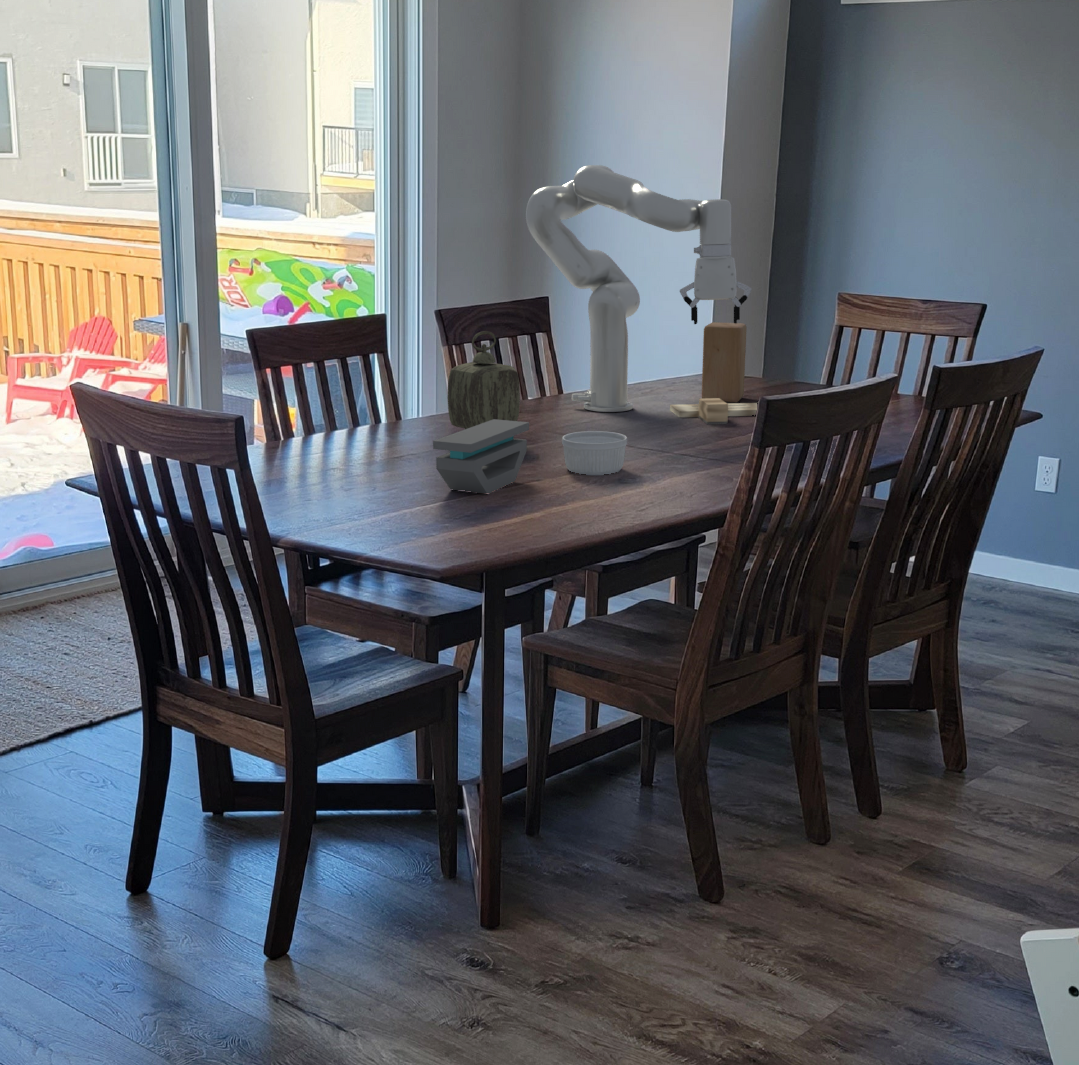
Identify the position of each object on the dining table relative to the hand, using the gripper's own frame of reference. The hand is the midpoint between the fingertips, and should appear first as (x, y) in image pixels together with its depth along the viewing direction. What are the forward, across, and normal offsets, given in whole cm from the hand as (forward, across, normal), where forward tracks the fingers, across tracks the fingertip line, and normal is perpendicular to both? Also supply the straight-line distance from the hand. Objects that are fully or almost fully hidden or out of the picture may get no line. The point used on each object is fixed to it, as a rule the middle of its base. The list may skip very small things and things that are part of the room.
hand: (715, 323), depth 333 cm
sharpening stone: (+23, -42, -85) cm, 98 cm away
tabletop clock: (+22, -50, -44) cm, 70 cm away
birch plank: (+23, +1, +6) cm, 24 cm away
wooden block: (+23, +1, +26) cm, 35 cm away
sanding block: (+23, 0, -6) cm, 24 cm away
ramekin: (+23, -23, -67) cm, 74 cm away
